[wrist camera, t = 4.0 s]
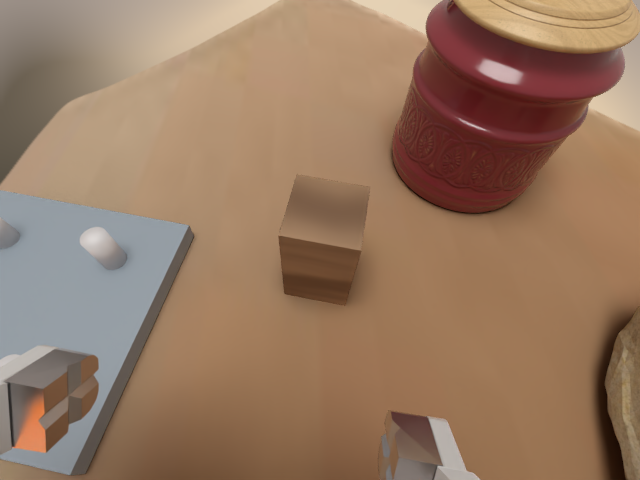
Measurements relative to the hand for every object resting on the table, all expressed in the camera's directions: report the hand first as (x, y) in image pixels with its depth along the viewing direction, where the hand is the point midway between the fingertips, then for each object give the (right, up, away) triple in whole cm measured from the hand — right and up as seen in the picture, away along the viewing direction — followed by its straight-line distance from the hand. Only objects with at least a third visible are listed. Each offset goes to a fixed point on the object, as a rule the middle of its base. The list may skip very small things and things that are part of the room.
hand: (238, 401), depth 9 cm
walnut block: (+2, +2, +17) cm, 17 cm away
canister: (+15, +12, +24) cm, 31 cm away
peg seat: (-17, 0, +14) cm, 22 cm away
